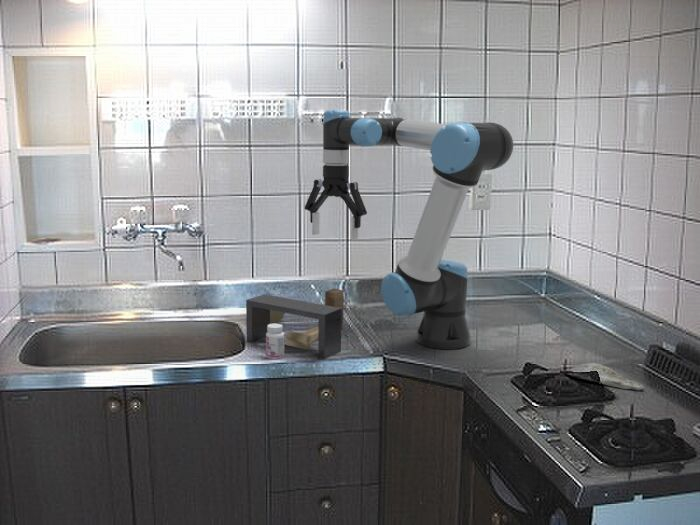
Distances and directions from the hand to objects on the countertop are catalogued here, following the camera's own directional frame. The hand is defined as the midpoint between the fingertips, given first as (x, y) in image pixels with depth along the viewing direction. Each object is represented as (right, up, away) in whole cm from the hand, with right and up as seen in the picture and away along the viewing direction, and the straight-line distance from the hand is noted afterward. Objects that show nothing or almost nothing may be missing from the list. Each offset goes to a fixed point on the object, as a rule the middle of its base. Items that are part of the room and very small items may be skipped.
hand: (334, 236), depth 224 cm
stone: (+67, -37, -38) cm, 85 cm away
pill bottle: (-15, -32, -25) cm, 44 cm away
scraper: (-5, -29, -9) cm, 31 cm away
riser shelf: (-11, -31, -17) cm, 37 cm away
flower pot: (-19, -26, +5) cm, 33 cm away
